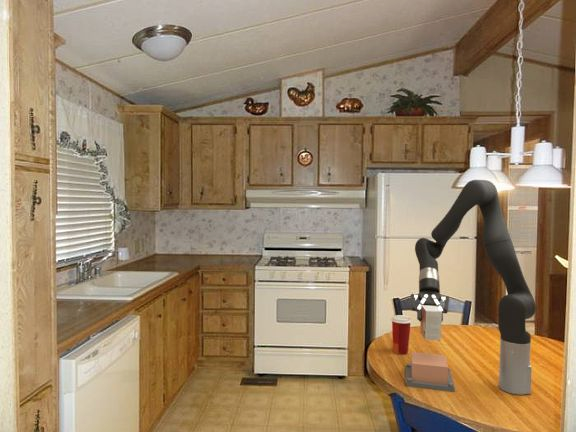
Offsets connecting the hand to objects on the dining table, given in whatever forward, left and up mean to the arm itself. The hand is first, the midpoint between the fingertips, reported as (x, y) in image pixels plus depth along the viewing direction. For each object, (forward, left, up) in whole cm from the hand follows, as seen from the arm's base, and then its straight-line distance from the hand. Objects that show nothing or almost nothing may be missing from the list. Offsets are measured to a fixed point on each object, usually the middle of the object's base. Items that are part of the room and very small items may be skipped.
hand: (430, 321), depth 157 cm
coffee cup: (+10, -26, -21) cm, 35 cm away
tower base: (0, 0, -21) cm, 21 cm away
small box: (0, 0, -6) cm, 6 cm away
